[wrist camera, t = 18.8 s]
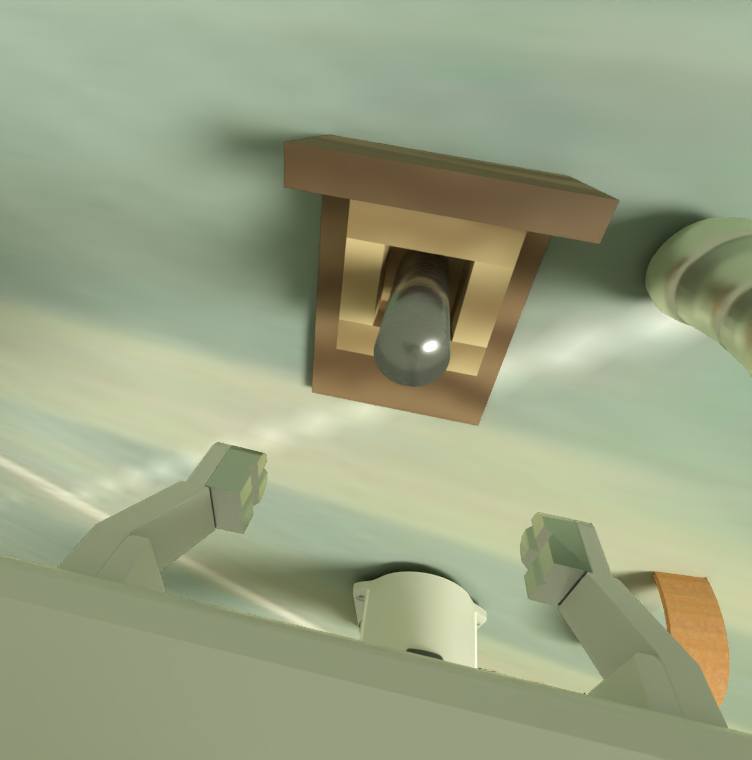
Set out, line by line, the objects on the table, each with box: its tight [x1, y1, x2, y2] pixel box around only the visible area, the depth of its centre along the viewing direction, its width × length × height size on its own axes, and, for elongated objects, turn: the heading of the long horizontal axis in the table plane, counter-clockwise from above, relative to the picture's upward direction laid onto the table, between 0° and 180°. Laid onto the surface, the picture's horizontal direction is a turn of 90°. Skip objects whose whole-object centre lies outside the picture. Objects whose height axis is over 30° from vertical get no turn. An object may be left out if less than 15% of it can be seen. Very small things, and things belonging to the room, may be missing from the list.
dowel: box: [374, 250, 450, 387], centre depth 23 cm, size 4×4×12 cm
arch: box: [653, 572, 729, 707], centre depth 47 cm, size 6×20×10 cm, turn 179°
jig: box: [284, 135, 620, 426], centre depth 28 cm, size 21×16×9 cm
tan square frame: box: [336, 199, 527, 376], centre depth 27 cm, size 10×10×6 cm
